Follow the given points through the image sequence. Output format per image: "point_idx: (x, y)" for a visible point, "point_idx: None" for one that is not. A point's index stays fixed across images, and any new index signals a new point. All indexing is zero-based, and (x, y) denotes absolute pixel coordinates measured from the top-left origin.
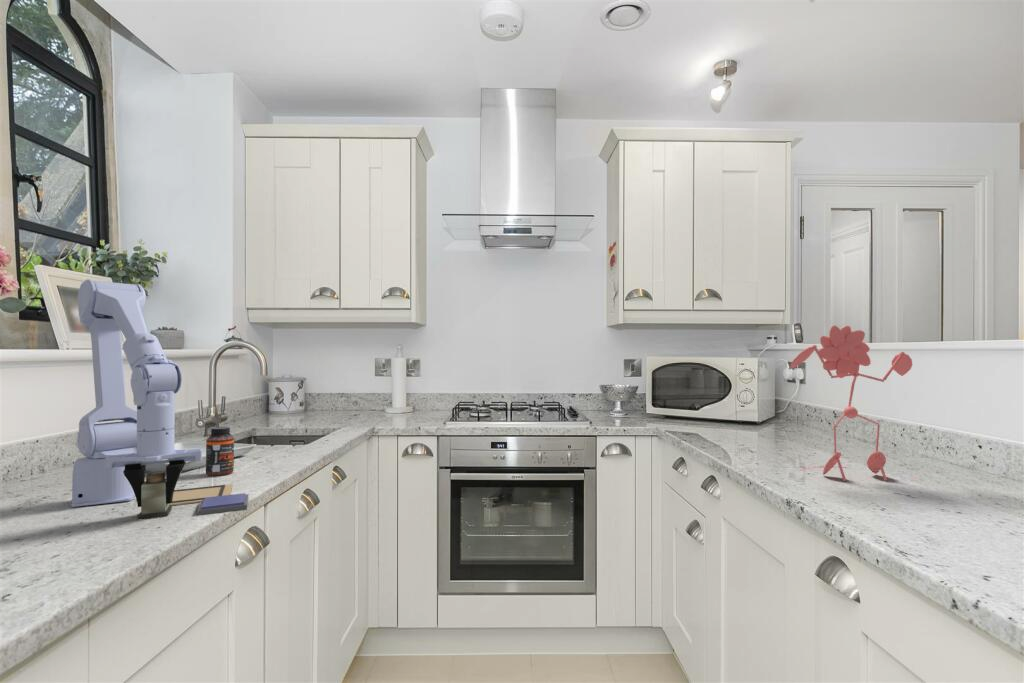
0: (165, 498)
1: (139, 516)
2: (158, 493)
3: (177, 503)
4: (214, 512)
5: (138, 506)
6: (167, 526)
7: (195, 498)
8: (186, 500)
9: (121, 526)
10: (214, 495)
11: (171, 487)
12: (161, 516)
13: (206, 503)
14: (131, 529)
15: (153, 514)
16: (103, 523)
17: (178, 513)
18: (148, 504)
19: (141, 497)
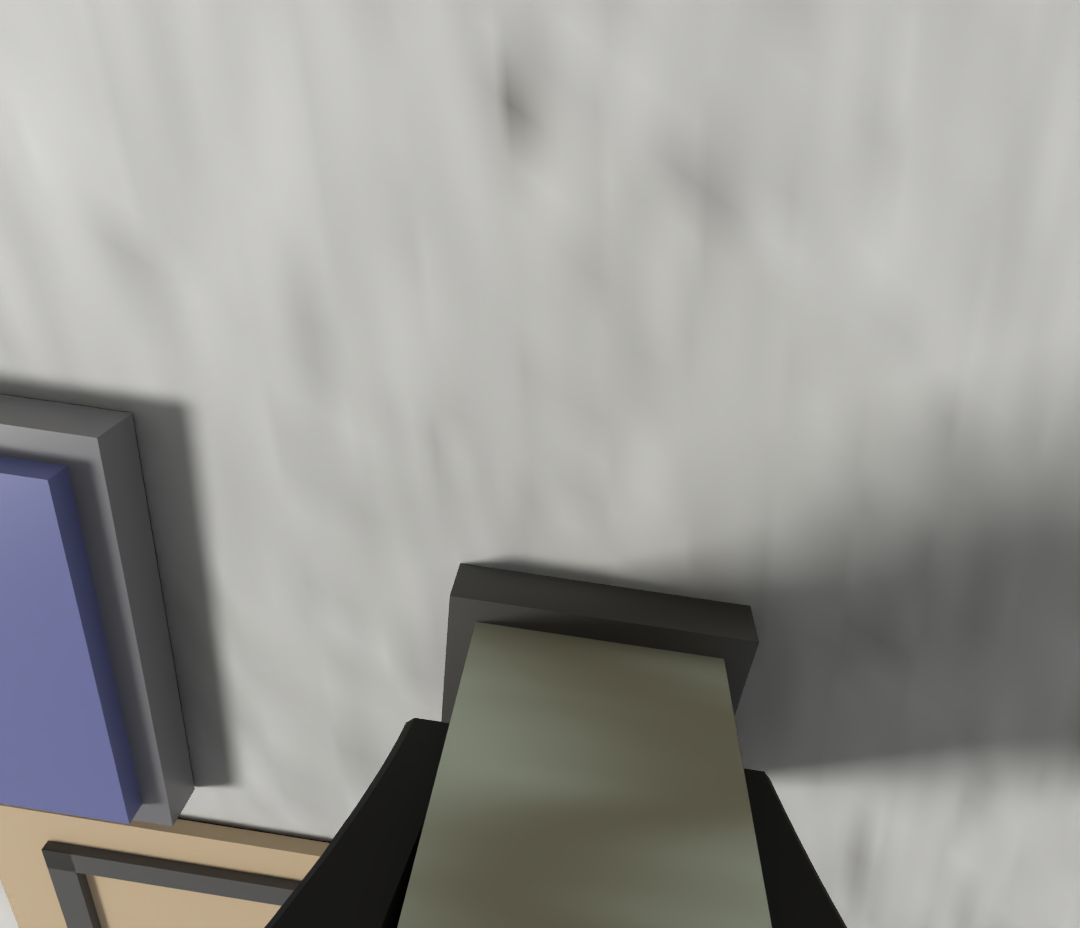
0: (441, 756)
1: (741, 628)
2: (520, 849)
3: None
4: None
5: (763, 778)
6: (410, 75)
7: None
8: None
9: (938, 452)
10: (132, 917)
11: (311, 910)
12: (519, 575)
13: (38, 614)
14: (855, 228)
15: (597, 610)
16: (1073, 678)
17: (361, 604)
18: (655, 739)
19: (757, 852)
